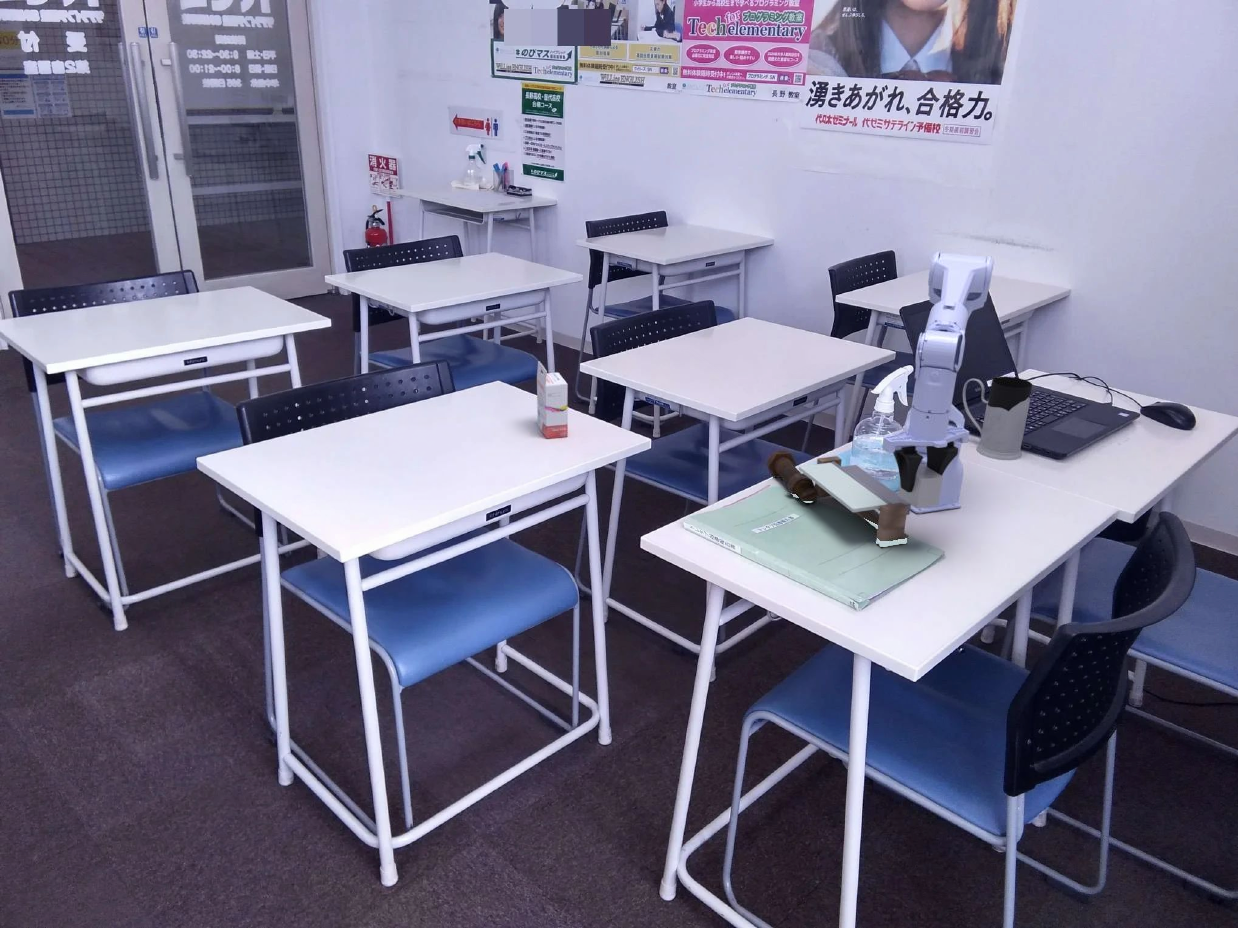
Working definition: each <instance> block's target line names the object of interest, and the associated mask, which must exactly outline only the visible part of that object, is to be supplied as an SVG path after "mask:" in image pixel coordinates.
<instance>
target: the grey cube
mask: <svg viewBox="0 0 1238 928" xmlns="http://www.w3.org/2000/svg"><path fill="white" fill-rule="evenodd" d="M942 480H943V476H941V475H940V474H938V473H936V472H935V471H933V470H932V469H930V468H928V467H927V466H925V465H924V464H923V465H919V467H918V470H917V473H916V478H915V483H914V488H913V490H912V492H907V491H905V490H904V489H902V488H901V482H899V487H898V492H899V493H898V496H899V497H901V498H902V499H904V500H905V501H907V502H908V503H909V504H911V505H912V506H914V507H915V508H917V509H919V508H925V507H931V506H938V504H939V498H940V492H941V486H942Z"/></svg>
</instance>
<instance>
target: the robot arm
mask: <svg viewBox="0 0 1238 928" xmlns="http://www.w3.org/2000/svg"><path fill="white" fill-rule="evenodd" d="M994 263H995V259H994V258H993V256H991V255H988V256H982V255H980V256H979V255H968V254H957V253H948V252H947V253H945V252H940V251H936V252H934V253H933V255H932V258H931V260H930V266H929V267H930V268H929V273H928V280H927V282H928V283H927V284H928V297H929V302H930V303H931V304H933V306H932V307H931V310H930V312H929V316H928V318H927V323H926V325H925V329H924V332H920V334H919V336H918V340H917V345H916V352H915V372H914V379H915V384H914V389H913V396H912V403H911V408H910V409H909V410H908V412H907V414H906V419H905V421H904V425H903V430H902V431H901V432H897V433H895V434H893V435H889V436H888V435H887V436H883V440H882V447H881V449H883V450H884V451H886V452H887V453H889V454H890V453H892V454H893V456H894V459H895V462H896V464H897V468H898V473H899V479H900V480H899V481H900V482H901V488H902V489H904V490H905V491H907V492H912V490H913V488H914V483H915V478H916V473H917V470H918V467H919V465H923V464H924V465H925V466H927V467H928V468H930V469H932V470H933V471H935V472H936V473H938V474H940V475H941V476H943V480H942V486H941V492H940V498H939V504H938V506H931V507H925V508H919V509H917V508H915V507H914V506H912V505H911V508H910V511H912V512H914V513H915V514H924V513H930V512H936V511H937V512H938V511H943V510H949V509H950V510H952V509H958V508H961V507H962V504H961V503H959V501H960V496H961V491H962V490H961V489H962V484H963V479H964V466H963V462H962V460H961V459H960V458H959V457H960V455H961V448H962V444H967V443H968V442H969V436H970V431H969V430H967V429H965V421H966V418H965V416H964V414H963V413H962V412H961V411H960V410H959V409H958V408H957V407H955V405H954V404H953V398H954V392H955V386H956V381H957V376H958V375H957V374H958V372H959V370H960V368H961V367H962V363H963V358H964V352H965V346H966V344H965V343H966V337H965V335H966V328H967V324H968V321H969V318H970V316H971V314H972V313H973V312H974V311H975V310H979V309H981V308H984V305H985V302H987V299H988V293H989V290H990V287H991V286H990V285H991V281H992V275H993V269H994ZM950 422H951V423H950ZM900 482H899V483H900ZM896 493H897V494H898V493H899V491H898V492H896Z"/></svg>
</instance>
